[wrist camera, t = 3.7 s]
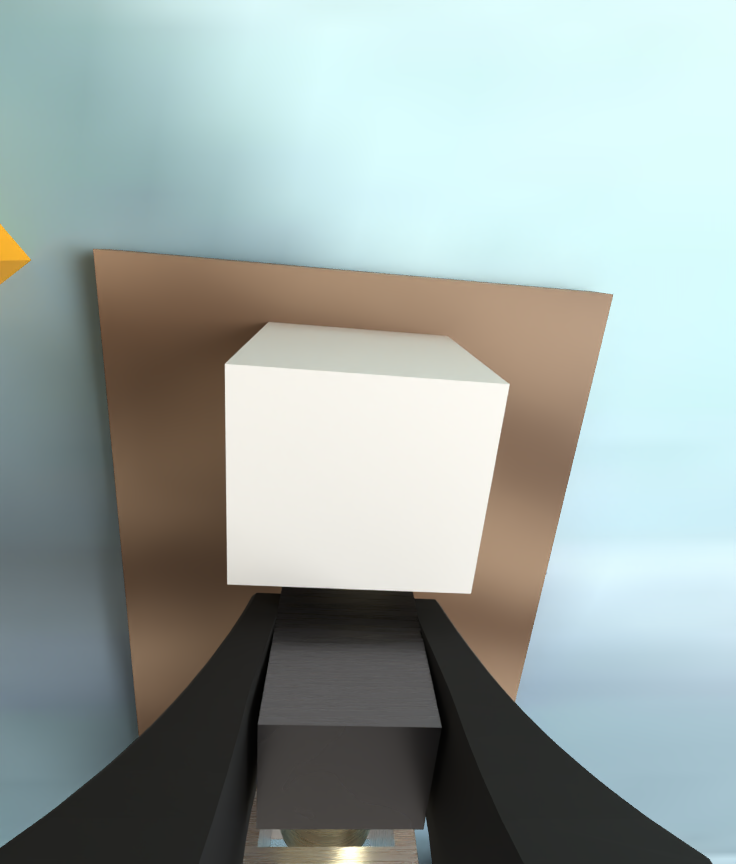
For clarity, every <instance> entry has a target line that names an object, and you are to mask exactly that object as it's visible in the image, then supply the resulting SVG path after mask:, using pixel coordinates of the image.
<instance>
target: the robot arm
mask: <svg viewBox="0 0 736 864" xmlns="http://www.w3.org/2000/svg"><path fill="white" fill-rule="evenodd" d="M280 595H281V594H280V593H255V594H254V595H253V596H252V597H251V599H250V600H249V602H248V604H247V606H246V608H245V609H244V611H243V613H242V614H241V616H240V617H239V619H238V620H237V622H236V623H235V625H234V626H233V628H232V629H231V631H230V632H229V634H228V635H227V636H226V638H225V639H224V641H223V642H222V643H221V645H220V646H219V647H218V649H217V650H216V651H215V653H214V654H213V655H212V657H211V658H210V659H209V661H208V662H207V663H206V664H205V666H204V667H203V668H202V669H201V670H200V672H199V673H198V674H197V675H196V676H195V678H194V679H193V680H192V681H191V682H190V684H189V685H188V686H187V687H186V688H185V690H184V691H183V692H182V693H181V694H180V695H179V696H178V697H177V698H176V700H175V701H174V702H173V703H172V704H171V705H170V706H169V707H168V708H167V709H166V710H165V711H164V712H163V713H162V714H161V715H160V716H159V718H158V719H157V720H156V721H155V722H154V723H153V724H152V725H151V726H150V727H149V728H148V729H147V730H145V731H144V732H143V733H142V734H141V735H140V736H139V737H138V738H137V739H136V740H135V741H134V742H133V743H132V744H131V745H130V746H129V747H127V748H126V749H125V750H124V751H123V752H122V753H121V754H120V755H119V756H118V757H117V758H115V759H114V760H113V761H112V762H111V763H110V764H109V765H107V766H106V767H105V768H104V769H103V770H102V771H100V772H99V773H98V774H97V775H95V776H94V777H93V778H92V779H91V780H89V781H88V782H87V783H86V784H84V785H83V786H82V787H81V788H79V789H78V790H77V791H76V792H75V793H73V794H72V795H71V796H70V797H68V798H67V799H66V800H65V801H63V802H62V803H61V804H60V805H59V806H57V807H56V808H55V809H53V810H52V811H51V812H49V813H48V814H47V815H45V816H44V817H43V818H41V819H40V820H39V821H37V822H36V823H34V824H33V825H32V826H30V827H29V828H27V829H26V830H25V831H23V832H22V833H20V834H19V835H18V836H16V837H15V838H13V839H12V840H11V841H9V842H8V843H6V844H5V845H4V846H2V847H1V848H0V864H243V858H244V851H245V844H246V837H247V832H248V826H249V821H250V816H251V810H252V806H253V801H254V797H255V792H256V788H257V742H258V720H259V715H260V709H261V703H262V698H263V692H264V686H265V680H266V675H267V669H268V663H269V658H270V652H271V646H272V641H273V635H274V629H275V624H276V619H277V615H278V606H279V601H280ZM414 600H415V604H416V609H417V614H418V615H417V619H418V622H419V625H420V628H421V632H422V637H423V642H424V646H425V651H426V656H427V661H428V665H429V670H430V675H431V679H432V684H433V689H434V693H435V698H436V703H437V707H438V712H439V717H440V721H441V726H442V729H441V735H440V740H439V746H438V751H437V757H436V762H435V768H434V773H433V779H432V784H431V790H430V795H429V801H428V806H427V812H426V820H427V826H428V832H429V840H430V849H431V858H432V864H712V862H711V861H710V859H709V858H707V857H706V856H704V855H703V854H701V853H700V852H698V851H697V850H695V849H694V848H692V847H691V846H689V845H688V844H686V843H685V842H683V841H682V840H680V839H679V838H677V837H676V836H674V835H673V834H671V833H670V832H669V831H667V830H666V829H664V828H663V827H661V826H660V825H658V824H657V823H655V822H654V821H652V820H651V819H649V818H648V817H646V816H645V815H644V814H642V813H641V812H640V811H638V810H637V809H636V808H634V807H633V806H632V805H630V804H629V803H628V802H626V801H625V800H624V799H622V798H621V797H620V796H618V795H617V794H616V793H614V792H613V791H612V790H610V789H609V788H608V787H607V786H605V785H604V784H603V783H602V782H600V781H599V780H598V779H597V778H596V777H594V776H593V775H592V774H591V773H589V772H588V771H587V770H586V769H585V768H584V767H582V766H581V765H580V764H579V763H578V762H577V761H575V760H574V759H573V758H572V757H571V756H570V755H569V754H567V753H566V752H565V751H564V750H563V749H562V748H560V747H559V746H558V745H557V744H556V743H555V742H554V741H553V740H552V739H551V738H550V737H549V736H547V735H546V734H545V733H544V732H543V731H542V730H541V729H540V728H539V727H538V726H537V725H536V724H535V723H534V722H533V721H532V720H531V719H530V718H529V717H528V716H527V715H526V714H525V713H524V712H523V711H522V709H521V708H520V707H519V706H518V705H517V704H516V703H515V702H514V701H513V700H512V699H511V697H510V696H509V695H508V694H507V693H506V692H505V690H504V689H503V688H502V687H501V686H500V685H499V684H498V682H497V681H496V680H495V679H494V678H493V676H492V675H491V674H490V673H489V672H488V670H487V669H486V668H485V666H484V665H483V664H482V663H481V661H480V660H479V659H478V657H477V656H476V655H475V654H474V652H473V651H472V650H471V648H470V647H469V646H468V644H467V643H466V642H465V640H464V639H463V638H462V636H461V635H460V633H459V632H458V631H457V629H456V628H455V626H454V625H453V623H452V622H451V621H450V619H449V618H448V616H447V615H446V613H445V612H444V610H443V609H442V607H441V606H440V604H439V603H438V602H437V601H436V599H415V598H414Z"/></svg>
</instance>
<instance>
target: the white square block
mask: <svg viewBox="0 0 736 864" xmlns="http://www.w3.org/2000/svg"><path fill="white" fill-rule="evenodd" d="M509 386H510V384H509V383H507V382H506V381H505V380H504V379H502V378H501V377H500V376H498V375H497V374H496V373H494V372H493V371H492V370H491V369H489V368H488V367H487V366H485V365H484V364H483V363H482V362H480V361H479V360H478V359H476V358H475V357H474V356H473V355H471V354H470V353H469V352H467V351H466V350H465V349H464V348H462V347H461V346H460V345H458V344H457V343H456V342H455V341H453V340H452V339H451V338H449V337H448V336H441V335H428V334H416V333H403V332H390V331H377V330H365V329H352V328H339V327H327V326H314V325H301V324H288V323H276V322H268V323H267V324H266V325H265V326H264V327H263V328H262V329H261V330H260V331H259V332H258V333H257V334H255V335H254V336H253V337H252V338H251V339H250V340H249V341H248V342H247V343H246V344H245V345H244V346H243V347H242V348H241V349H240V350H239V351H238V352H237V353H236V354H235V355H234V356H232V357H231V358H230V359H229V360H228V361H227V362H226V363H225V428H226V516H227V584H229V585H255V586H281V587H308V588H334V589H360V590H386V591H413V592H439V593H465V594H471V591H472V585H473V580H474V575H475V569H476V564H477V558H478V553H479V548H480V542H481V537H482V531H483V526H484V521H485V515H486V510H487V504H488V499H489V494H490V488H491V483H492V477H493V472H494V467H495V461H496V456H497V450H498V445H499V440H500V434H501V429H502V423H503V418H504V413H505V407H506V402H507V396H508V391H509Z"/></svg>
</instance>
